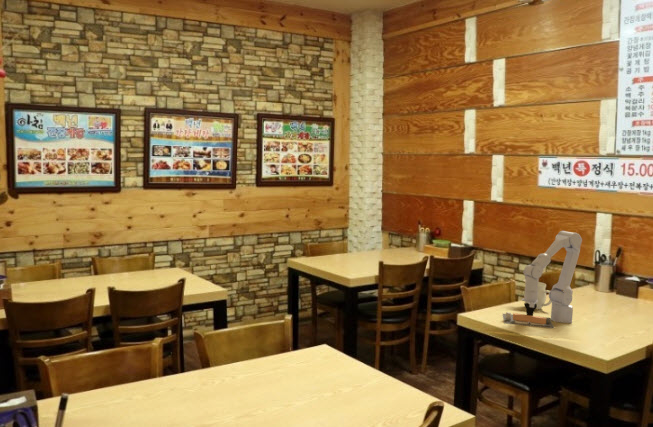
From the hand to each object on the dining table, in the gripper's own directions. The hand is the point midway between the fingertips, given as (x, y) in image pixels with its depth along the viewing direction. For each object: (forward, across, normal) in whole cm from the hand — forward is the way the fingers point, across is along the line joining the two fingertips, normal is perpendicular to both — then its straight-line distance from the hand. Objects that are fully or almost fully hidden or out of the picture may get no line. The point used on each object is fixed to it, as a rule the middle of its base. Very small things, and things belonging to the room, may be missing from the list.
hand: (529, 318), depth 269 cm
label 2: (+2, 0, +3) cm, 4 cm away
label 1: (+2, 0, -4) cm, 4 cm away
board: (+3, -3, -1) cm, 4 cm away
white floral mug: (+3, -34, +6) cm, 34 cm away
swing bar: (+1, +2, +1) cm, 2 cm away
